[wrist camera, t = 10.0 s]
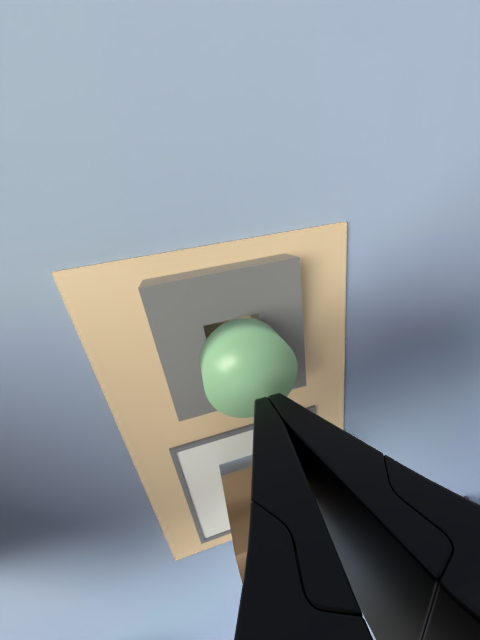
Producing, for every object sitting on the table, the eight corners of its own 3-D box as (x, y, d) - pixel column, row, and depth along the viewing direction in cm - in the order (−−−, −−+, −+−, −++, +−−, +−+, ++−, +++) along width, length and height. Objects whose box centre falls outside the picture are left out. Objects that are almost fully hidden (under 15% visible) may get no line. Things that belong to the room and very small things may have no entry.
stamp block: (287, 488, 19) (322, 571, 14) (229, 508, 18) (247, 602, 14) (283, 444, 17) (321, 522, 13) (218, 465, 17) (235, 555, 12)
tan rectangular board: (340, 495, 22) (343, 501, 21) (175, 555, 19) (175, 564, 19) (343, 221, 13) (349, 221, 13) (54, 271, 11) (49, 273, 10)
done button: (270, 361, 14) (299, 403, 10) (204, 378, 13) (213, 428, 10) (263, 297, 12) (294, 323, 9) (189, 313, 12) (193, 347, 8)
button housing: (291, 367, 16) (306, 385, 14) (178, 397, 15) (178, 421, 13) (282, 252, 13) (299, 257, 11) (143, 278, 12) (138, 287, 10)
